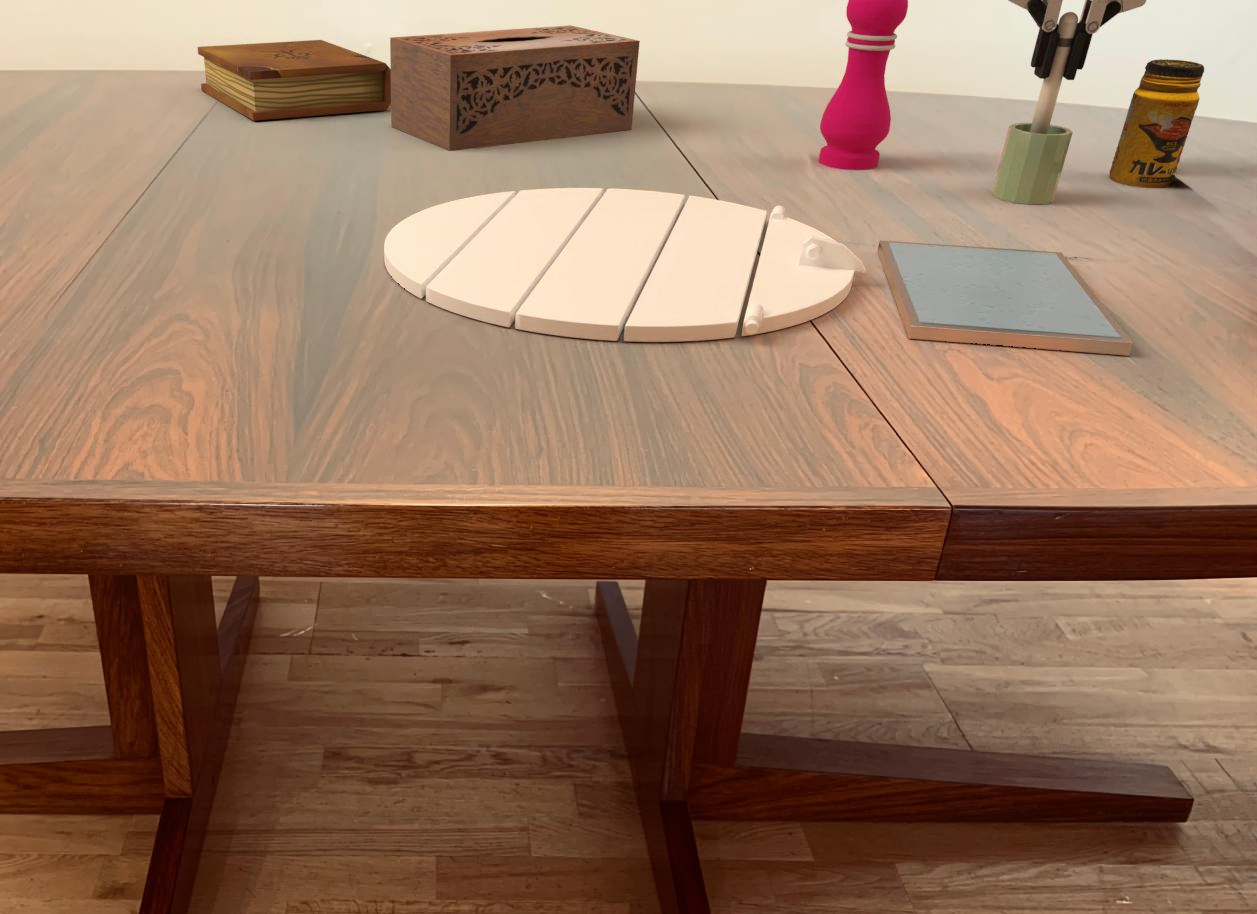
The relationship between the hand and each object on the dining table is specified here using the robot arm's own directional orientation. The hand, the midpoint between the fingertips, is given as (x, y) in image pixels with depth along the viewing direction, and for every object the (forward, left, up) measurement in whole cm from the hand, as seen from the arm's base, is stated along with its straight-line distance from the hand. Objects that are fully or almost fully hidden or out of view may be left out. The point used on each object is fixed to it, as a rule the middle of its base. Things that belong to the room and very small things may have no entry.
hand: (1053, 75), depth 114 cm
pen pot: (0, 0, -12) cm, 12 cm away
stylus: (0, 0, -8) cm, 8 cm away
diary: (+86, -32, -12) cm, 92 cm away
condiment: (-13, -11, -12) cm, 21 cm away
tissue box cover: (+55, -22, -12) cm, 60 cm away
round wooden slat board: (+38, +29, -12) cm, 49 cm away
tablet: (+8, +32, -12) cm, 35 cm away
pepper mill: (+16, -11, -12) cm, 23 cm away
